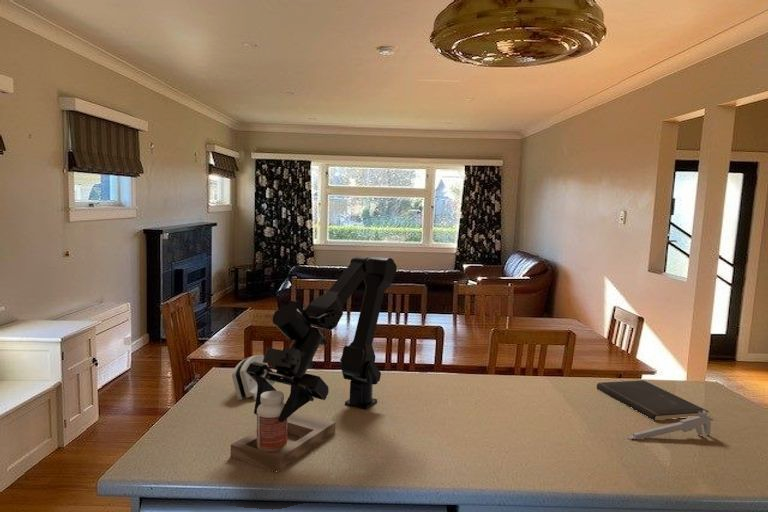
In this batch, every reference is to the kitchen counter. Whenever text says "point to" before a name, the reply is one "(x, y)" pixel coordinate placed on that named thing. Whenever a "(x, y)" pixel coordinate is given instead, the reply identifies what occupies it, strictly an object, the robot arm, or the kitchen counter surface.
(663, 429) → the caliper
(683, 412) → the hardcover book
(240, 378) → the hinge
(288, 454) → the wooden rectangular frame
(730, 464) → the kitchen counter surface
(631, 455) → the kitchen counter surface
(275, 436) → the pill bottle
